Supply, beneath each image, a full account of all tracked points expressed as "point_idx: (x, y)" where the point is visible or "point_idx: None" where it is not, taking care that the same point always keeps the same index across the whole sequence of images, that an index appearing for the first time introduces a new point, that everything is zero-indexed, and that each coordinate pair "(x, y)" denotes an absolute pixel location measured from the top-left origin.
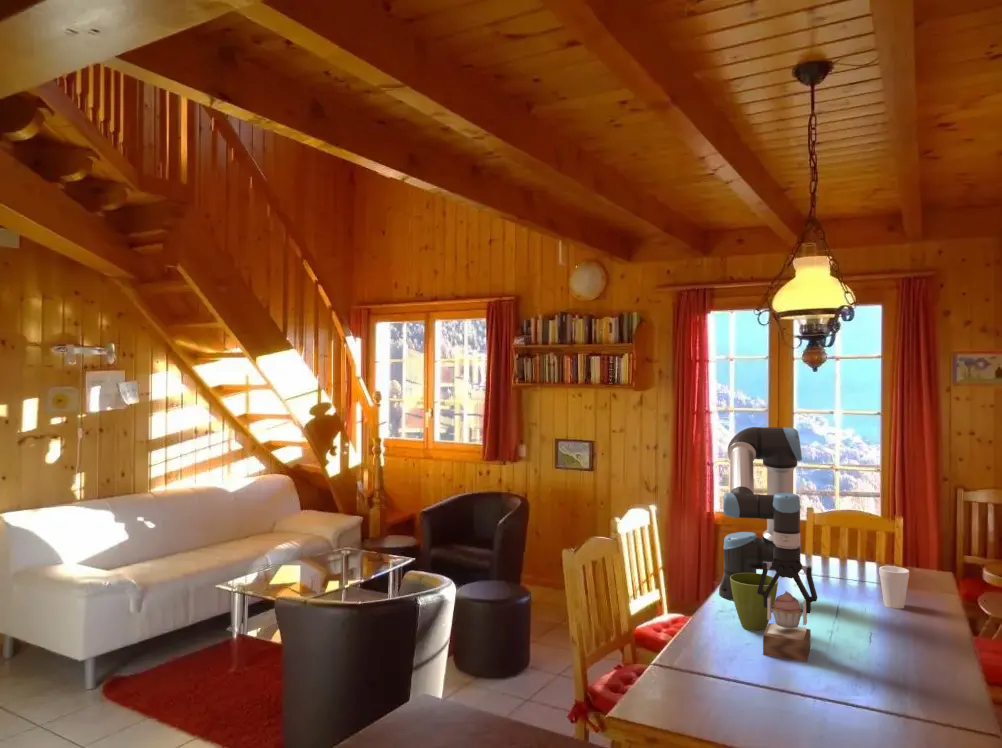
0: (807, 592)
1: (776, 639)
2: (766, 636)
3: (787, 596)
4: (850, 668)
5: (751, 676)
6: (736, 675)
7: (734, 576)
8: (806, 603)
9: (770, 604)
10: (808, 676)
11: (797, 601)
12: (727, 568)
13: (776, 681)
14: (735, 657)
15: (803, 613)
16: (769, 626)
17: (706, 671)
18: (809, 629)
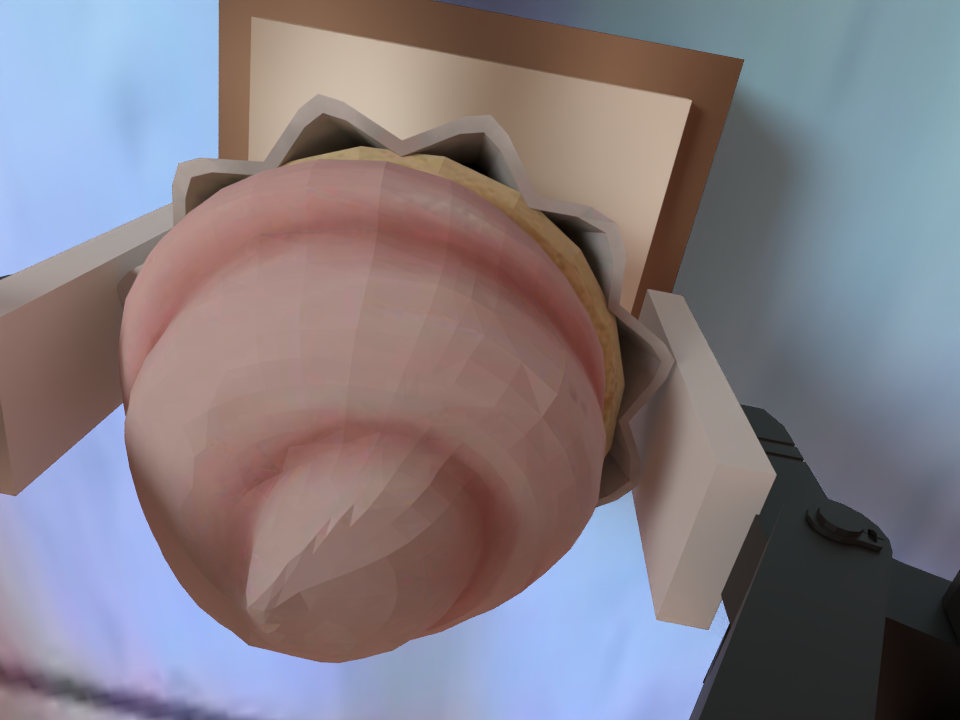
0: (867, 680)
1: None
2: None
3: (329, 661)
4: (900, 441)
5: (255, 664)
6: (180, 666)
7: None
8: (725, 580)
9: (97, 371)
10: (567, 612)
11: (556, 531)
12: None
13: (385, 694)
14: (114, 433)
15: (634, 490)
16: (244, 104)
17: (27, 650)
18: (728, 69)
